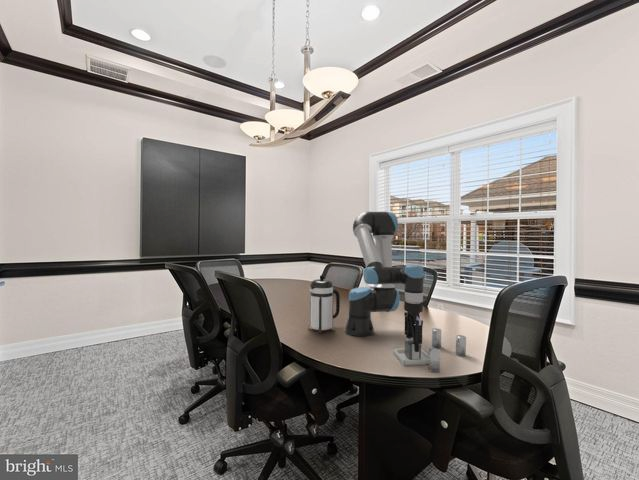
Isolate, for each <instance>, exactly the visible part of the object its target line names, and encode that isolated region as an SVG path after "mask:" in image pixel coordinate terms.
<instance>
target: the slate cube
mask: <svg viewBox="0 0 639 480" xmlns="http://www.w3.org/2000/svg"><path fill="white" fill-rule="evenodd" d="M412 343H413V341H407V340H404V349H405V355H406V356H407V358H408V359H412ZM421 349H422V344H419V359H421Z"/></svg>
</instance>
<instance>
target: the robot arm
mask: <svg viewBox="0 0 639 480" xmlns="http://www.w3.org/2000/svg"><path fill="white" fill-rule="evenodd" d="M398 221H399V220H398V218H397V216H396V214H395V213H394V212H393V211H392V212H391V211H364V212H361V213H360V214H358V216H357V217H356V218H355V220H354V221H353V223H352V233H353V235H354V237H356V239H357V242H358V244H359V245H358V246H359V248H360V252H361V255H362V259H363V262H364V264H365V265H364V266H365V268H364V269H363V273H362V274H363V281H364V282H365V284H366V285H373V289H371V287H368V286H365V287H364V286H361V287H354V288H352V289H351V290H349V293H348V318H347V321H346V323H345V330H344V331H345V333H346V334H348V335H350V336H353V337H354V336H356V337H369V336H372V335H373V334H374V332H375V330H374V329H375V328H374V325H373V321H372V318H371V317H372V315H371V314H372V313H384V312H385V313H389V312H395V311H397V309H398V308H399V305H400V303H401V297H400V296H401V295H400V291H399V290H398V289H396V286H395V285H396V284H398V285H399V284H402V285H404V290H403V291H404V293H403V294H404V297H403V299H404V304H403V305H404V306H403V307H404V311H405V312H404V313H403V315H404V336H405V337H406V341H413V343H412V359H419V344H421V345H422V344H423V325H424V320H423V319H422V320H421V319H420V318H421V317H420V313H422V312H423V311H424V310H423V309H424V303H423V301H424V295H425V294H424V276H425V274H424V267H423V265H420V264H406V265H405V266H404V265H398V266H393V255H392V254H393V253H392V249H393V247H392V239H394V237H395V234H396V233H397V232H398V230H399V223H398Z"/></svg>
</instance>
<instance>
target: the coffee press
mask: <svg viewBox="0 0 639 480" xmlns="http://www.w3.org/2000/svg"><path fill="white" fill-rule="evenodd" d="M334 286H335V285H334V283H333V281H331V280H330V279H328V278H327V279H326V278H325V276H324V275H322V274H320V276H319V278H318V279H313V280H312V281H311V283H310V284H309V287H310V288H309V292H310V293H309V295H310V296H309V307H310V308H309V321H310V322H309V326H308V327H307V329H308V330H309V331H310V330H311V329H313V330H316V331H318V335H322V332H323V331H328V330H332V331H336V327H335V326H334V319H336V318H337V317H338V316H339V314H340V308H341V307H340V304H341V303H340V302H341V301H340V297H341V296H340V292H339V291H338V290H336V289H334ZM334 294H335V299H336V300H335V312H334ZM309 327H310V328H309ZM332 327H333V328H332Z"/></svg>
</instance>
